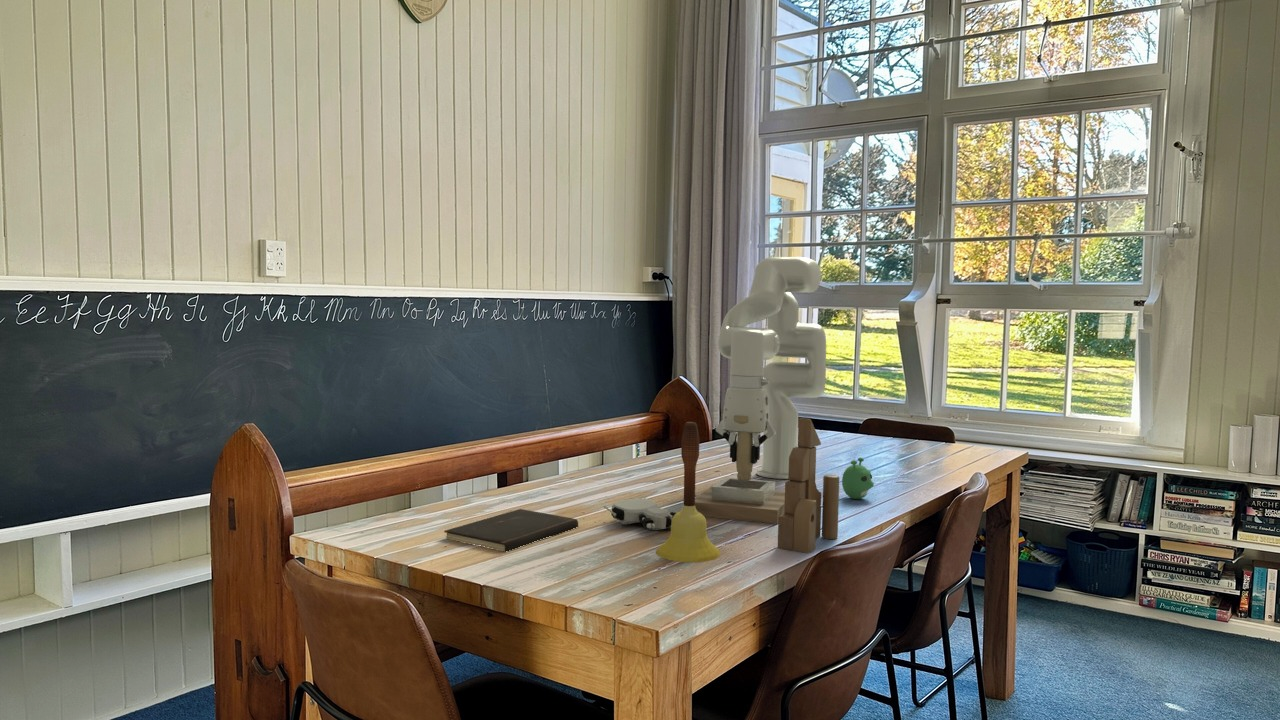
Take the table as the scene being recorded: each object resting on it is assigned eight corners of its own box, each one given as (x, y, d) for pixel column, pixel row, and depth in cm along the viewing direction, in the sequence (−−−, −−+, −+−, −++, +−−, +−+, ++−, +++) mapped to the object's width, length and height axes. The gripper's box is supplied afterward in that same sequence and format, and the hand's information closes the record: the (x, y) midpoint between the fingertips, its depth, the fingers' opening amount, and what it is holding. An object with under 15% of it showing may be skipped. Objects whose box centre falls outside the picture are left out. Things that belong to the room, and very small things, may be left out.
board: (713, 497, 217) (713, 485, 217) (794, 504, 210) (795, 492, 210) (689, 514, 198) (689, 501, 198) (777, 523, 191) (777, 510, 191)
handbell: (730, 559, 164) (733, 426, 162) (667, 564, 160) (670, 427, 159) (707, 542, 176) (709, 417, 174) (647, 546, 172) (649, 418, 171)
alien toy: (866, 503, 212) (867, 462, 212) (836, 499, 217) (838, 458, 216) (877, 498, 218) (879, 458, 217) (848, 494, 223) (849, 455, 222)
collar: (725, 489, 212) (725, 477, 211) (774, 494, 207) (775, 481, 207) (711, 499, 200) (711, 486, 200) (763, 504, 196) (763, 491, 196)
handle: (761, 479, 204) (762, 415, 203) (743, 482, 200) (744, 417, 199) (745, 476, 207) (746, 413, 207) (727, 479, 203) (728, 414, 202)
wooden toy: (809, 554, 168) (812, 424, 167) (777, 548, 172) (780, 421, 171) (840, 537, 181) (843, 416, 179) (809, 532, 185) (813, 413, 183)
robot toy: (690, 531, 188) (641, 513, 198) (691, 511, 187) (642, 494, 198) (648, 541, 179) (600, 522, 190) (650, 520, 179) (601, 501, 189)
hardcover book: (444, 542, 175) (444, 530, 175) (520, 519, 194) (520, 508, 194) (505, 555, 166) (505, 543, 166) (578, 530, 186) (578, 519, 185)
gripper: (785, 383, 203) (783, 462, 204) (715, 380, 209) (714, 457, 210) (779, 386, 196) (777, 467, 197) (706, 382, 202) (705, 462, 203)
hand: (744, 461), depth 203 cm, fingers closed on handle, 4 cm apart
